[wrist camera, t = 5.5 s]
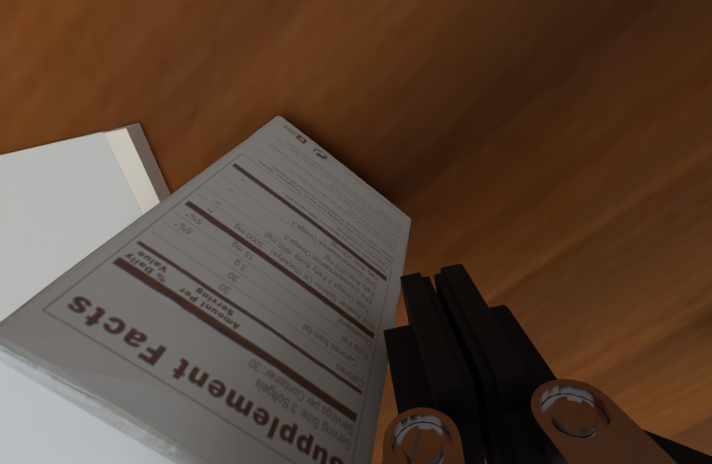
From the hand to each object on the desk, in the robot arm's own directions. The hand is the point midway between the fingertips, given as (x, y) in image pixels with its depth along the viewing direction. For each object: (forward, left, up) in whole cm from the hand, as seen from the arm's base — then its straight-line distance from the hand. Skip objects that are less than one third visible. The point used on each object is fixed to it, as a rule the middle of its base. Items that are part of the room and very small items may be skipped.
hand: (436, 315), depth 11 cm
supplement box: (+4, 0, -9) cm, 10 cm away
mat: (+18, 0, -10) cm, 21 cm away
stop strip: (+11, 0, -10) cm, 15 cm away
